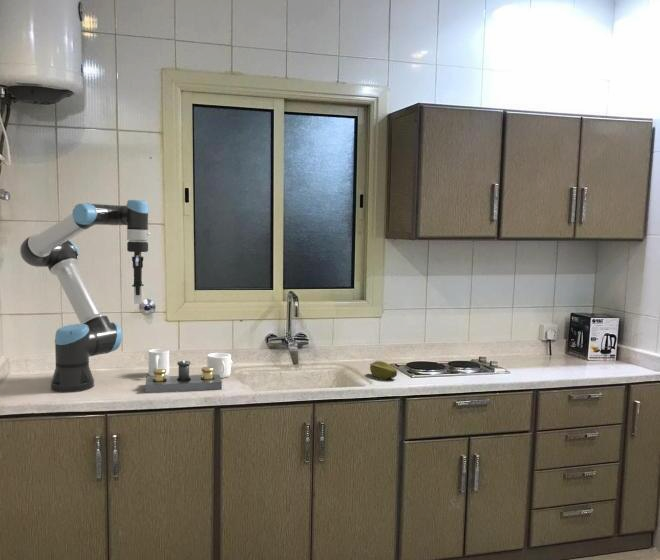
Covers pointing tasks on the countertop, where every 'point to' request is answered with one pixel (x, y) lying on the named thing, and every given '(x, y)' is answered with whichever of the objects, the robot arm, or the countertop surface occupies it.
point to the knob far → (207, 373)
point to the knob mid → (183, 370)
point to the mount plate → (183, 384)
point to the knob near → (159, 375)
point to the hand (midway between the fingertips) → (137, 303)
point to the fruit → (382, 370)
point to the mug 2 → (220, 363)
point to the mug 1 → (158, 360)
